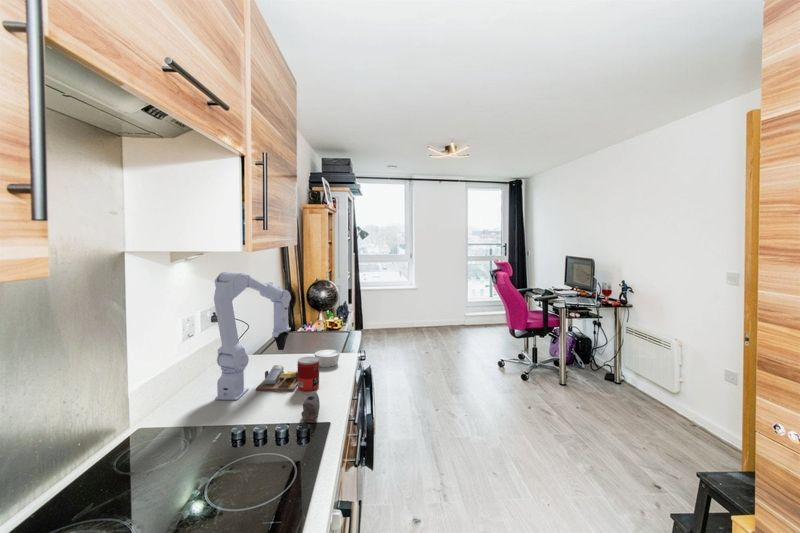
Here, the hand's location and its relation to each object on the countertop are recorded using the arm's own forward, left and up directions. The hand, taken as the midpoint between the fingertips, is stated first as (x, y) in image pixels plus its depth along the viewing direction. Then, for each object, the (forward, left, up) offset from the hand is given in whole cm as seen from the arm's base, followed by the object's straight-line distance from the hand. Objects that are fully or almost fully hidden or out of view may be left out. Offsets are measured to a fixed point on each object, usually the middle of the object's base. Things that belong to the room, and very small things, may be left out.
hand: (281, 349), depth 152 cm
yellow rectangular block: (-11, -7, -7) cm, 15 cm away
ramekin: (+12, -17, -10) cm, 23 cm away
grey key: (-11, -1, -7) cm, 13 cm away
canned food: (-16, -16, -10) cm, 24 cm away
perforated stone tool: (-37, -22, -10) cm, 45 cm away
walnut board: (-11, -4, -10) cm, 15 cm away
